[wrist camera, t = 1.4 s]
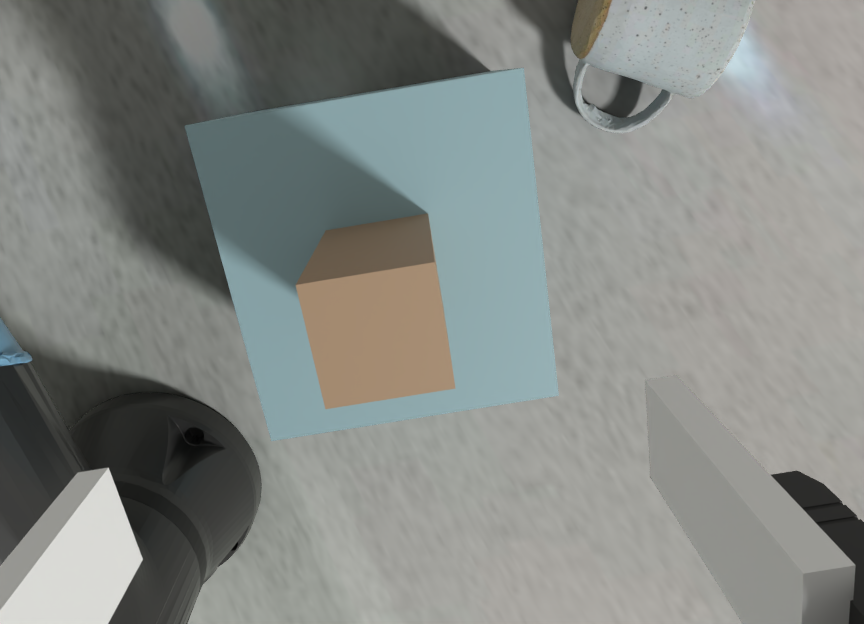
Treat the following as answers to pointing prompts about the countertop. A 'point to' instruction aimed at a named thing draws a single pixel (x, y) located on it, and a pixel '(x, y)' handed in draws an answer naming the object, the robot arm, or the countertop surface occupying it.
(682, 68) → the ceramic mug
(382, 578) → the countertop surface
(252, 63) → the countertop surface
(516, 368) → the pale blue storage box
